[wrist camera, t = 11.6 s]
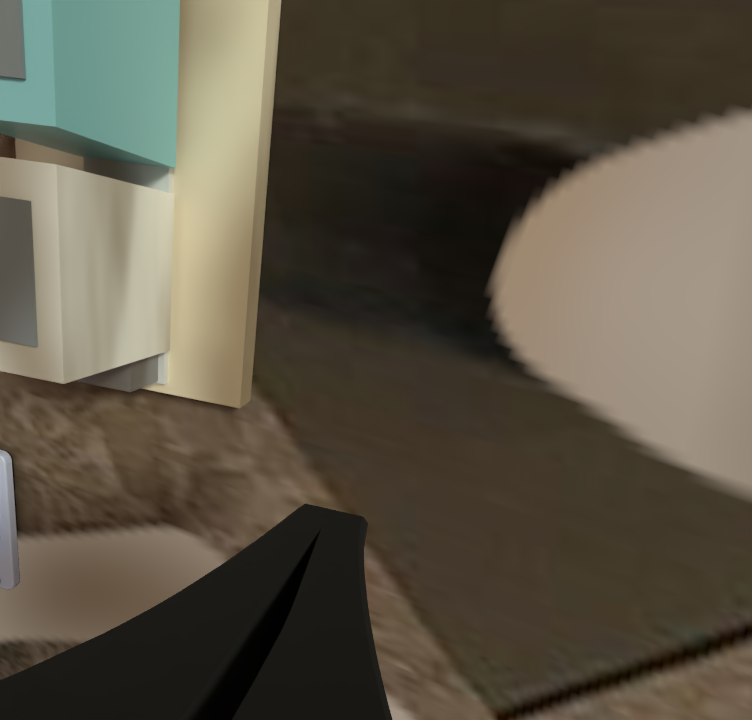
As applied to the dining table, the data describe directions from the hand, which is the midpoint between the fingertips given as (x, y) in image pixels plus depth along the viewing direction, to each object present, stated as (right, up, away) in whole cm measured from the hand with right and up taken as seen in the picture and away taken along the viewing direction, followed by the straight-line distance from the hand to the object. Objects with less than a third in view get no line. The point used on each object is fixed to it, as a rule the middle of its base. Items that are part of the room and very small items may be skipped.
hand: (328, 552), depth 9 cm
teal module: (-8, +14, +7) cm, 17 cm away
